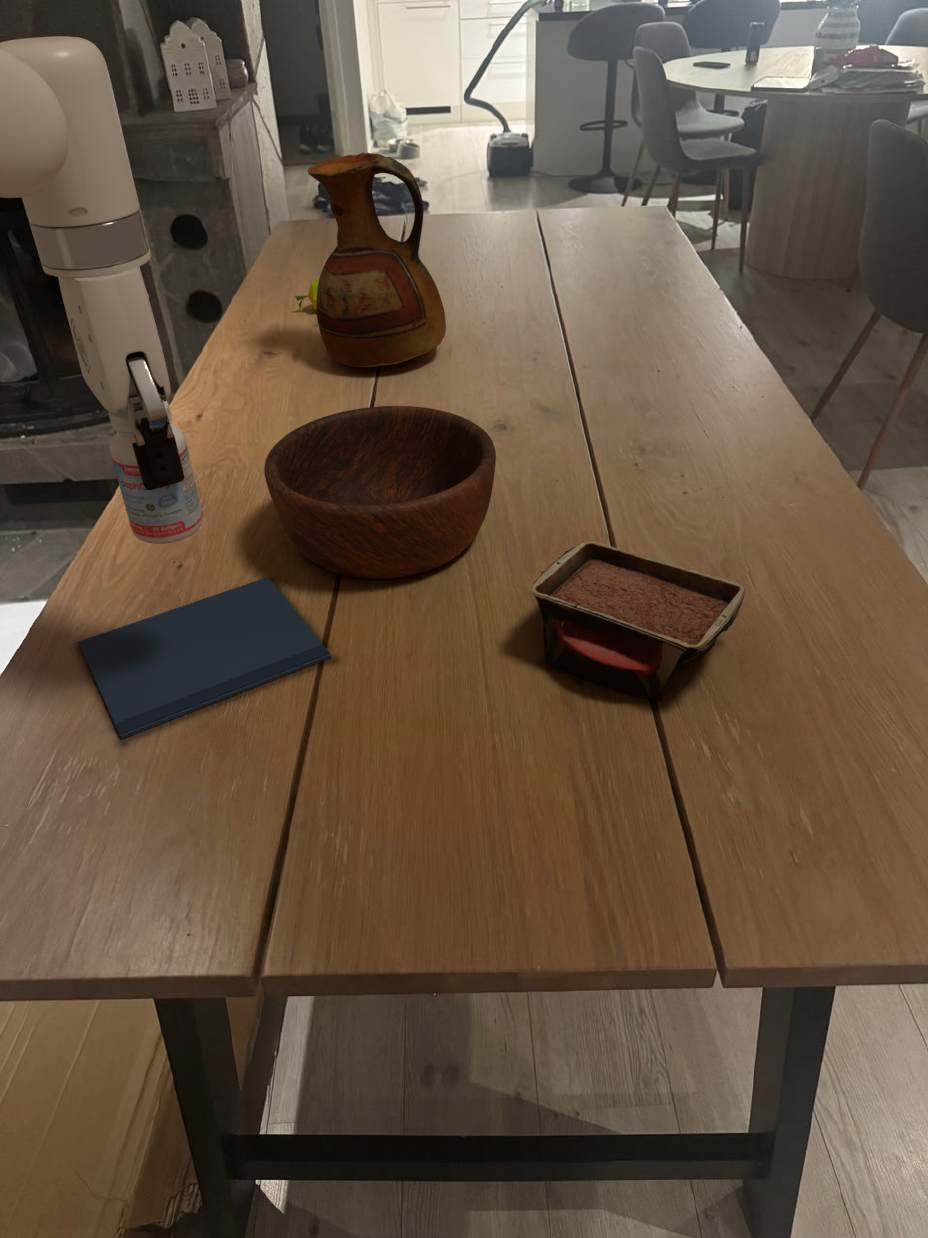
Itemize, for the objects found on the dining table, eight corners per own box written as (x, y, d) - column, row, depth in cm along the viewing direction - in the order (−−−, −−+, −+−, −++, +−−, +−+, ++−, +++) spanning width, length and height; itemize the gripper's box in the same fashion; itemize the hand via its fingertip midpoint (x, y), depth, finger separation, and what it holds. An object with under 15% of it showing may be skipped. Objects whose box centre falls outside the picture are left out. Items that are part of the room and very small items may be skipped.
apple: (341, 266, 166) (291, 271, 164) (347, 298, 164) (297, 303, 163) (341, 289, 173) (293, 294, 171) (347, 319, 171) (298, 324, 170)
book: (121, 739, 80) (120, 735, 80) (79, 644, 91) (77, 640, 91) (331, 657, 88) (330, 653, 88) (268, 579, 99) (268, 575, 99)
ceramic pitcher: (324, 339, 157) (298, 144, 139) (442, 331, 158) (431, 136, 140) (321, 384, 142) (292, 171, 124) (452, 375, 143) (442, 162, 125)
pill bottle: (123, 546, 78) (85, 423, 71) (147, 510, 83) (114, 391, 76) (193, 547, 78) (162, 422, 71) (213, 510, 83) (186, 390, 76)
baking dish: (602, 602, 97) (590, 519, 92) (765, 643, 86) (762, 552, 81) (522, 682, 89) (503, 597, 83) (690, 739, 78) (681, 645, 72)
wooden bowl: (338, 470, 119) (328, 394, 113) (524, 496, 112) (524, 417, 105) (236, 574, 100) (217, 490, 94) (452, 614, 93) (447, 526, 87)
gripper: (16, 226, 71) (83, 442, 81) (64, 281, 59) (136, 526, 69) (114, 210, 74) (167, 420, 84) (180, 259, 62) (231, 497, 72)
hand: (152, 466), depth 77 cm, fingers closed on pill bottle, 6 cm apart
